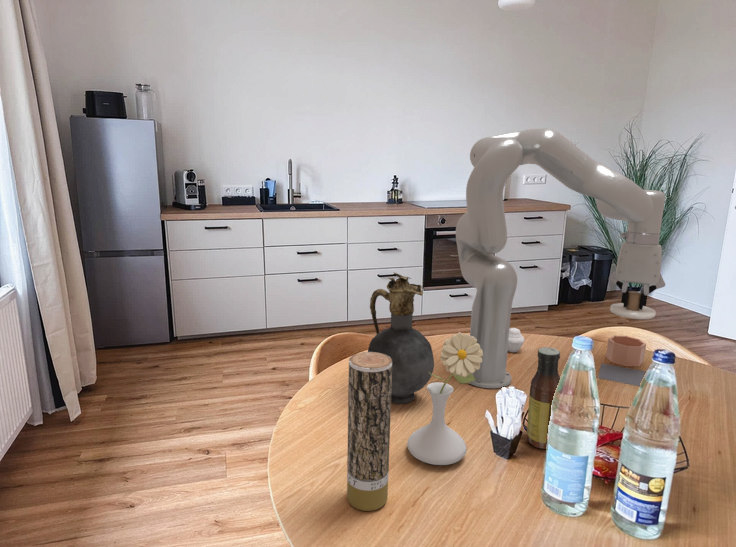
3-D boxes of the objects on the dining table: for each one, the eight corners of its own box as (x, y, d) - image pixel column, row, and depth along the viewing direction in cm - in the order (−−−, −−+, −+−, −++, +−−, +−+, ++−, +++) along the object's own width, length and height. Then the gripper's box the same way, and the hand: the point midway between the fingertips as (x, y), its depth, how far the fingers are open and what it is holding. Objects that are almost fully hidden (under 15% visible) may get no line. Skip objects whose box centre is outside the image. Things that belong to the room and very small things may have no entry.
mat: (645, 389, 132) (645, 387, 132) (597, 379, 137) (597, 377, 136) (645, 373, 141) (645, 371, 141) (601, 364, 146) (601, 363, 146)
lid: (620, 318, 135) (623, 298, 134) (603, 306, 146) (605, 286, 144) (663, 319, 135) (666, 299, 133) (643, 307, 145) (646, 287, 144)
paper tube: (386, 486, 92) (390, 352, 86) (388, 513, 85) (394, 369, 79) (346, 486, 91) (348, 351, 86) (346, 513, 85) (348, 368, 79)
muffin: (508, 355, 151) (510, 332, 150) (497, 347, 157) (499, 325, 156) (527, 353, 153) (529, 330, 151) (516, 345, 159) (518, 323, 157)
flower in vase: (403, 467, 97) (409, 339, 92) (409, 435, 108) (414, 319, 102) (475, 476, 95) (486, 345, 89) (474, 442, 106) (483, 324, 100)
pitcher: (402, 416, 116) (408, 284, 109) (352, 385, 130) (354, 266, 123) (438, 403, 122) (445, 277, 115) (386, 374, 137) (390, 261, 130)
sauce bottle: (554, 435, 109) (564, 345, 105) (562, 452, 103) (573, 357, 99) (522, 433, 110) (531, 343, 105) (527, 450, 104) (537, 355, 99)
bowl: (615, 367, 145) (618, 346, 143) (601, 354, 153) (604, 335, 152) (647, 368, 145) (651, 347, 143) (632, 355, 153) (635, 336, 152)
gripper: (606, 237, 136) (597, 306, 141) (679, 244, 128) (668, 316, 133) (608, 233, 143) (601, 299, 147) (678, 239, 135) (668, 308, 139)
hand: (633, 306), depth 140 cm, fingers closed on lid, 3 cm apart
